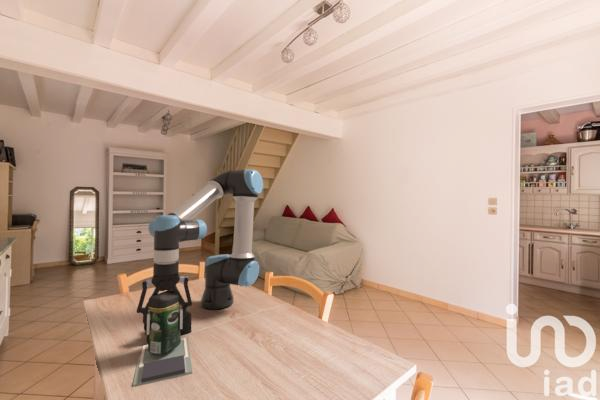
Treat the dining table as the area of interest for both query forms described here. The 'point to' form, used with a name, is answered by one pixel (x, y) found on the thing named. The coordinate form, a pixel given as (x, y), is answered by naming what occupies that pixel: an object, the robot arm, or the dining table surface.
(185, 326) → the film camera
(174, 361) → the pad
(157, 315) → the coffee jar
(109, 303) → the dining table surface
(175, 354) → the board
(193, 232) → the robot arm
